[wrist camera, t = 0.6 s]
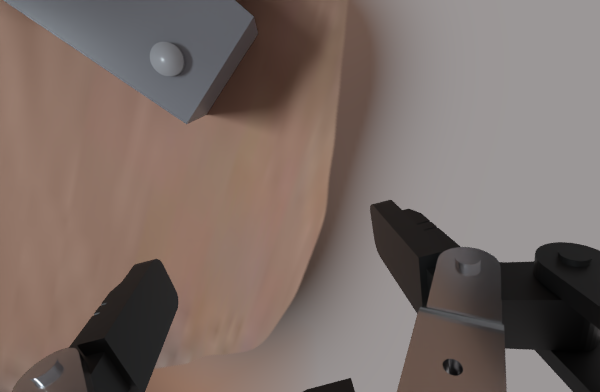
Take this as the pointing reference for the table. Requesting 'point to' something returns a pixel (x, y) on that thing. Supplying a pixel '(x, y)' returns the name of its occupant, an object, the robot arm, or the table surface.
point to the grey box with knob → (155, 44)
